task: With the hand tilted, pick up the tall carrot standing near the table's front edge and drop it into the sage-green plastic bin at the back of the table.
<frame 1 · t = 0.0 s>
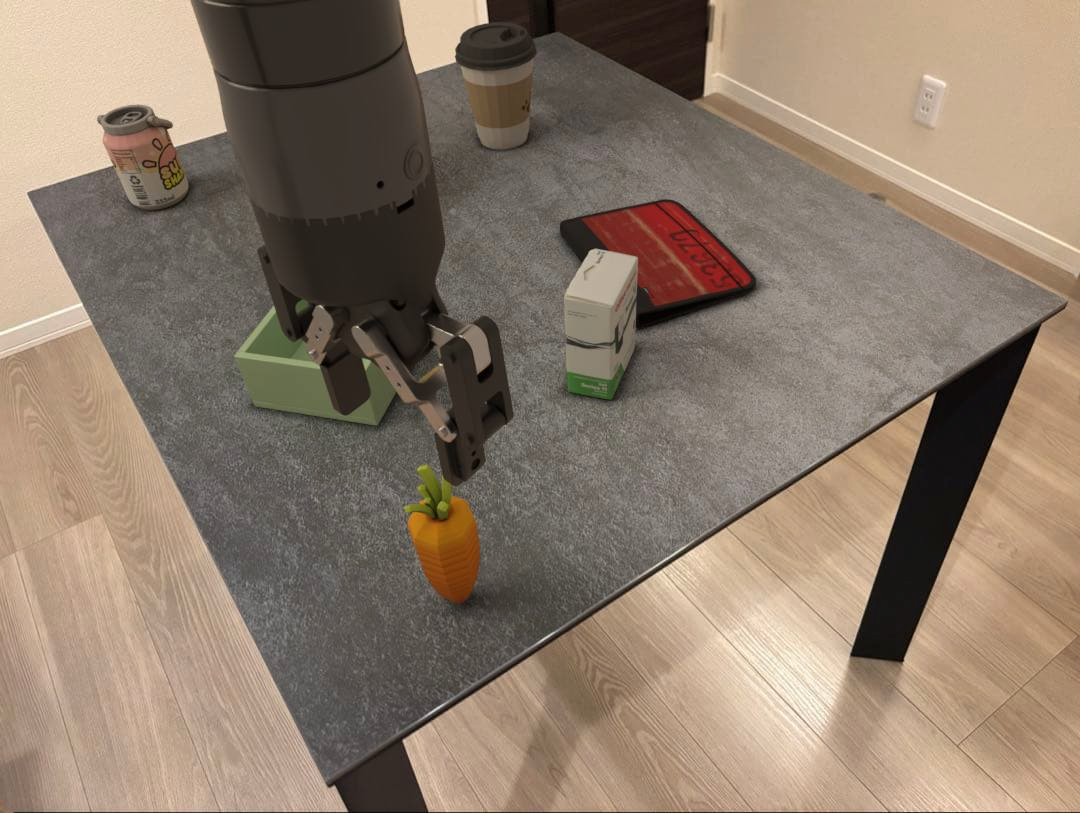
hand: (406, 438, 45), 25 cm above the table, tool pointing down, fingers open, 8 cm apart
beverage can: (163, 196, 117), on the table
coffee cup: (504, 139, 123), on the table
carrot: (460, 601, 66), on the table
teapot: (348, 184, 116), on the table
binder: (655, 263, 98), on the table
bin: (343, 371, 87), on the table
ink box: (602, 370, 85), on the table
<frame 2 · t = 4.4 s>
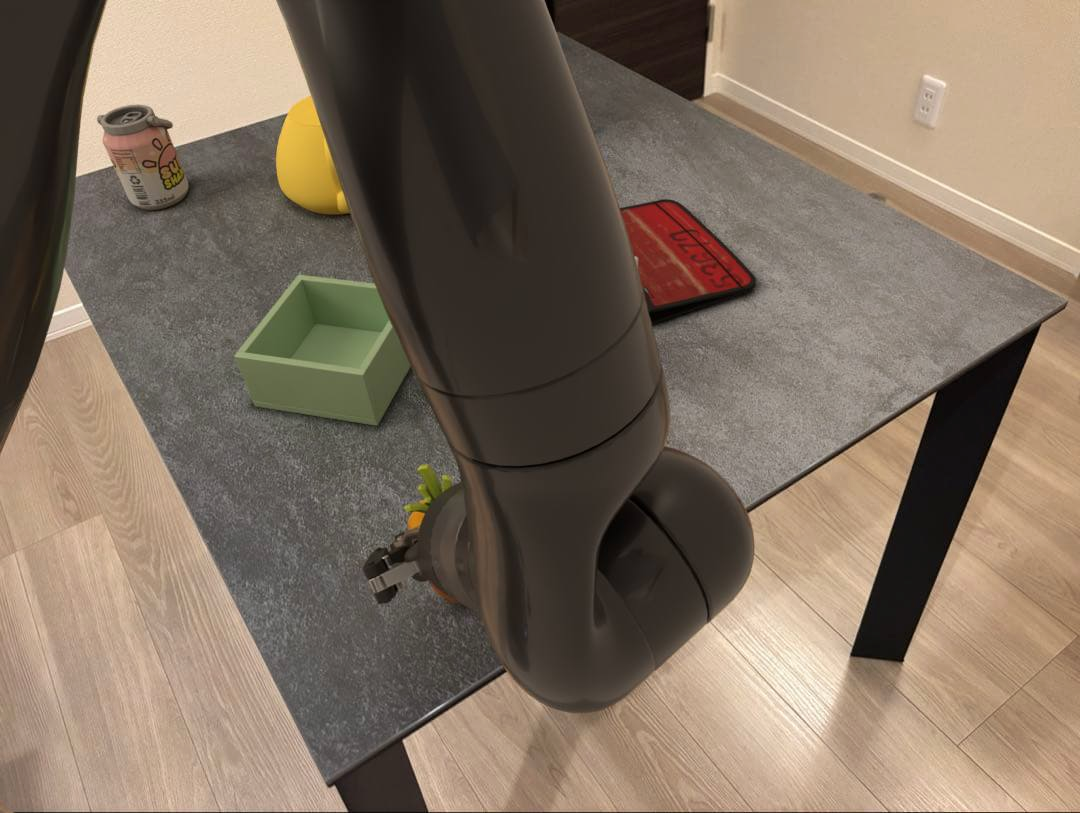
hand: (436, 530, 62), 7 cm above the table, tool tilted 45°, fingers closed on carrot, 5 cm apart
carrot: (459, 602, 66), on the table, touching gripper
everything else where it was.
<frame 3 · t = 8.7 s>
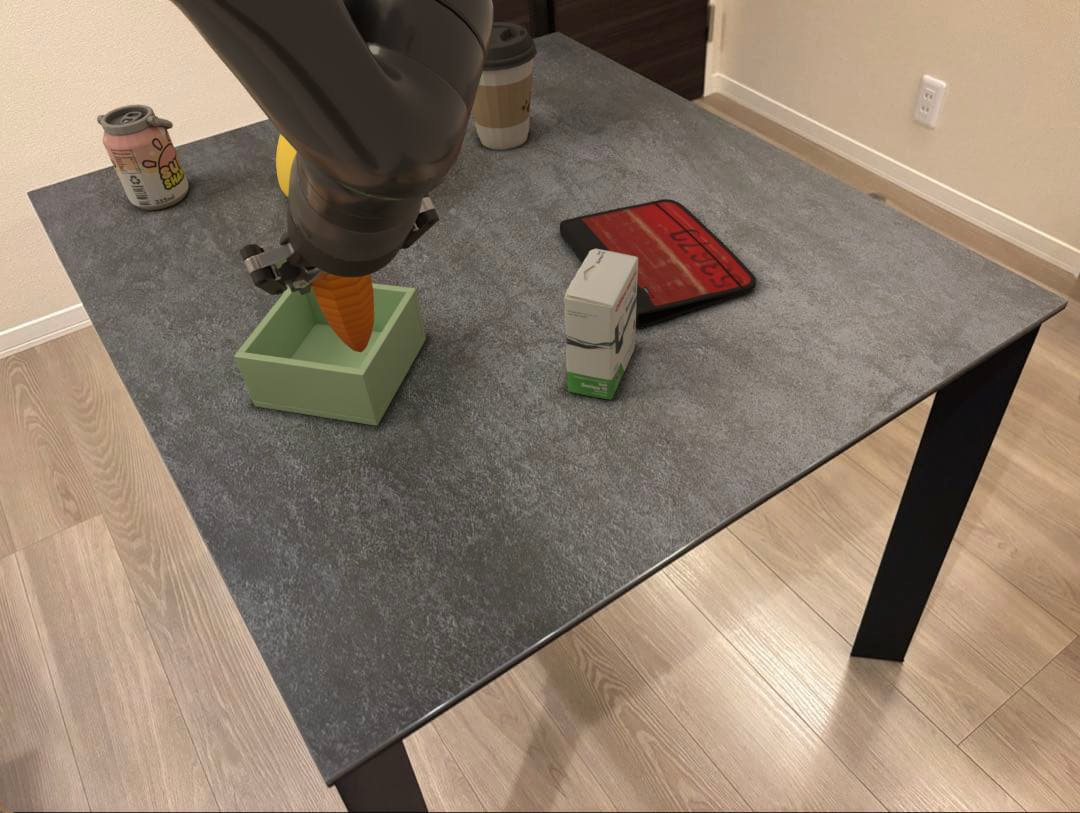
hand: (332, 270, 65), 20 cm above the table, tool tilted 45°, fingers closed on carrot, 5 cm apart
carrot: (361, 353, 69), point 13 cm above the table, touching gripper
everything else where it was.
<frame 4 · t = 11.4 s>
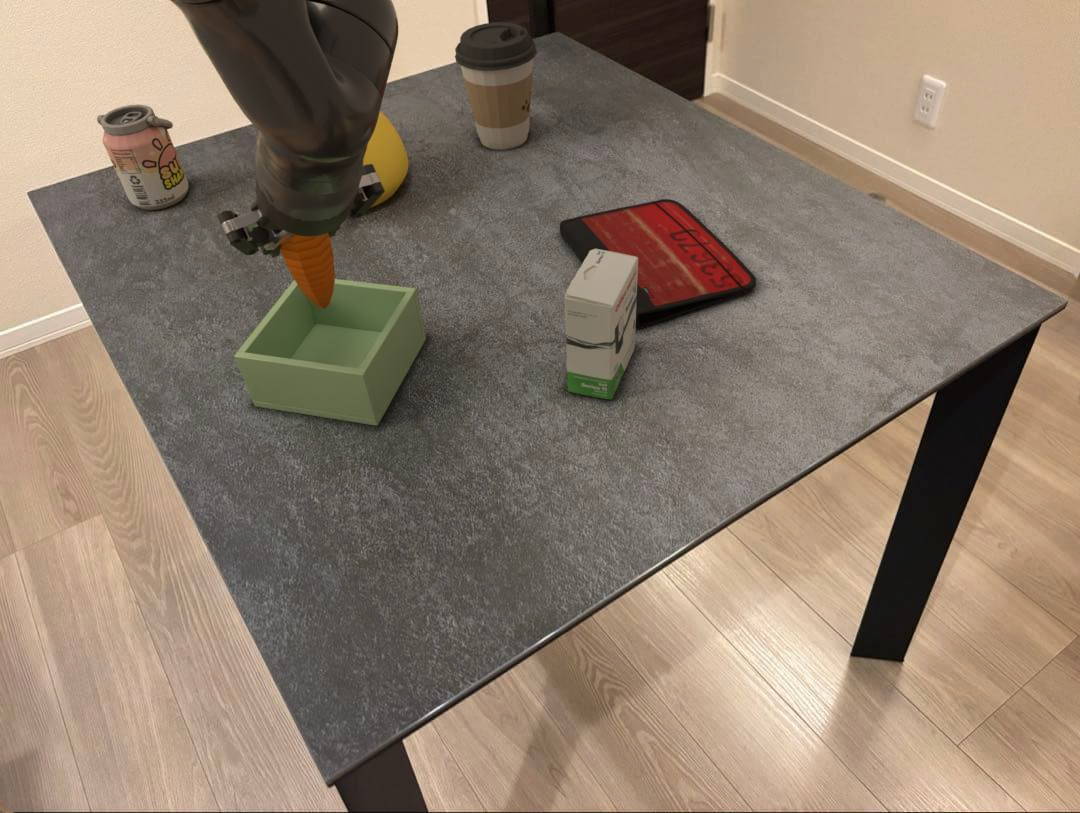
hand: (298, 237, 77), 16 cm above the table, tool tilted 45°, fingers closed on carrot, 5 cm apart
carrot: (325, 309, 81), point 8 cm above the table, touching gripper
everything else where it was.
when the fingers open (12 cm above the table, at t = 12.9 s): carrot drops 4 cm, resting on bin.
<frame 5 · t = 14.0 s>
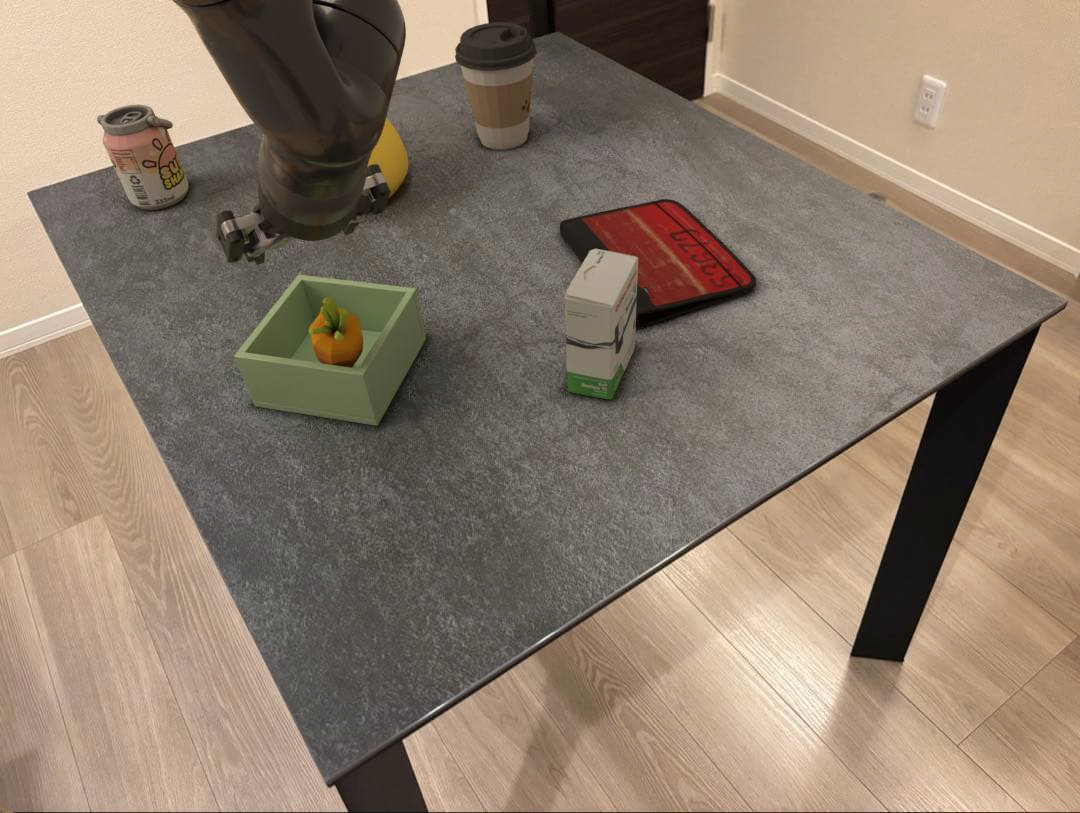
hand: (300, 239, 76), 16 cm above the table, tool tilted 45°, fingers open, 8 cm apart
carrot: (341, 366, 86), point 1 cm above the table, touching bin
everything else where it was.
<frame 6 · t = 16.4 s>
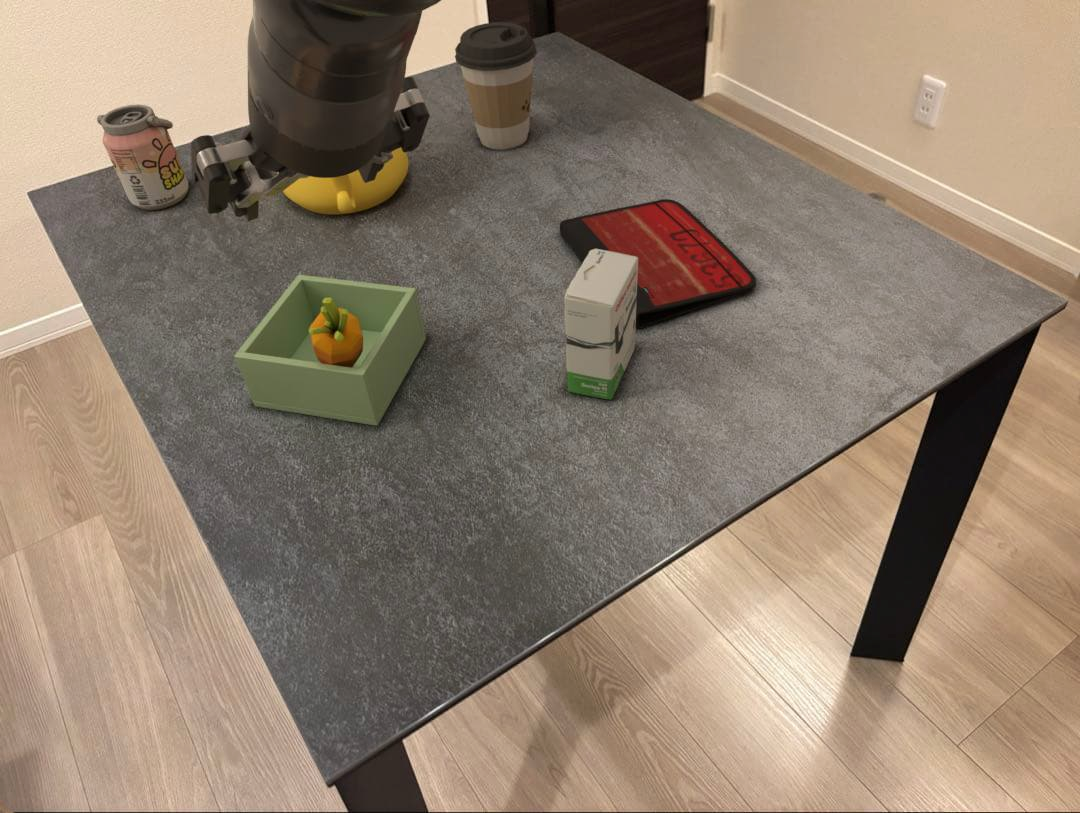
hand: (305, 187, 58), 29 cm above the table, tool tilted 45°, fingers open, 8 cm apart
nothing on the table moved.
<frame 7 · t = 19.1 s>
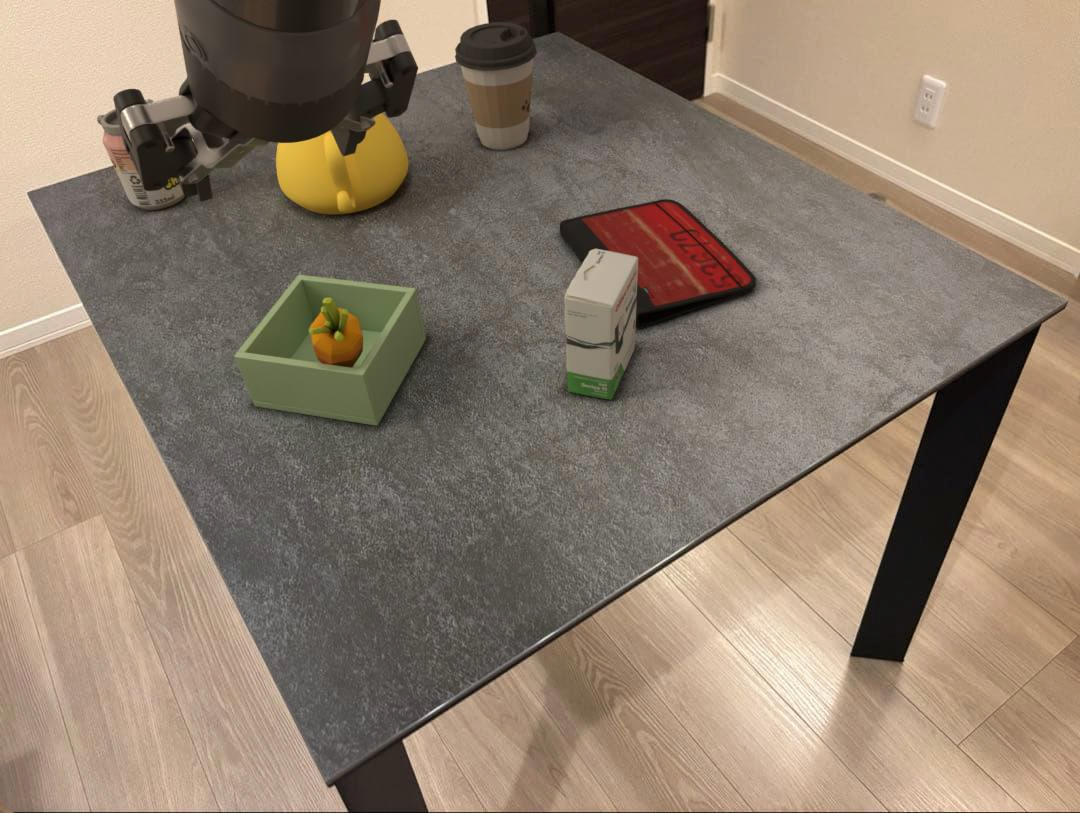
hand: (271, 161, 48), 35 cm above the table, tool tilted 45°, fingers open, 8 cm apart
nothing on the table moved.
at the end: carrot inside the target area in the bin (0.3 cm from its centre), point 1.0 cm above the bin's base; the gripper is holding nothing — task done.
